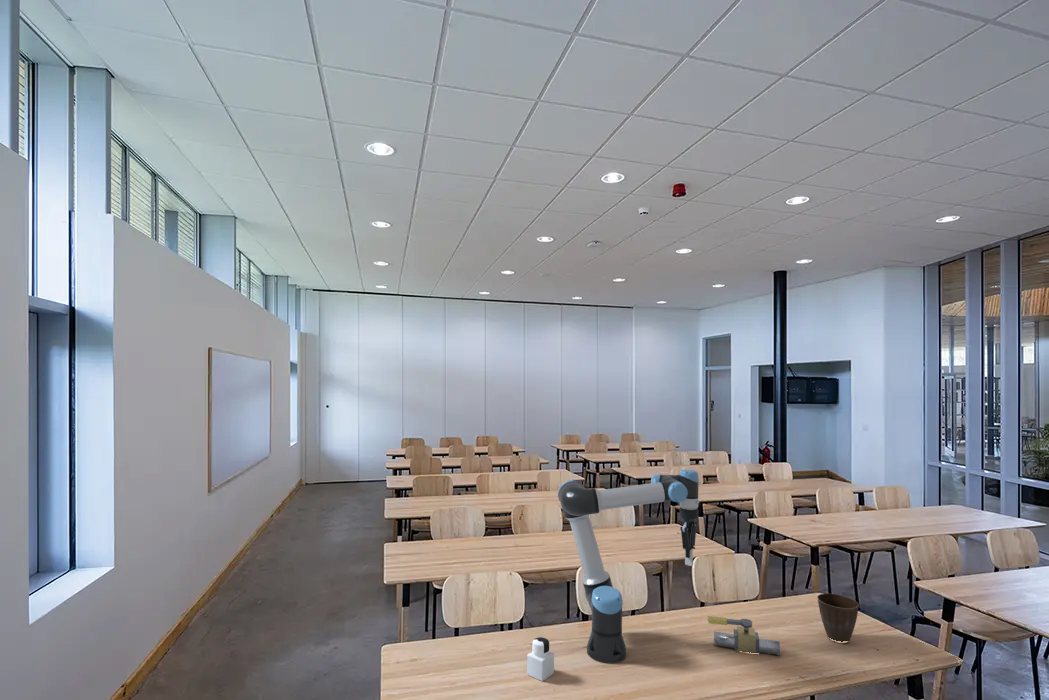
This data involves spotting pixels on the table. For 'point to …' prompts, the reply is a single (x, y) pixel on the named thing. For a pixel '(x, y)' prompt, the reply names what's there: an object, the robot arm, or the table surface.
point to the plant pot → (838, 615)
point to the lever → (729, 621)
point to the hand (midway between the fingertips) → (688, 564)
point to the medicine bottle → (540, 660)
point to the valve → (746, 641)
